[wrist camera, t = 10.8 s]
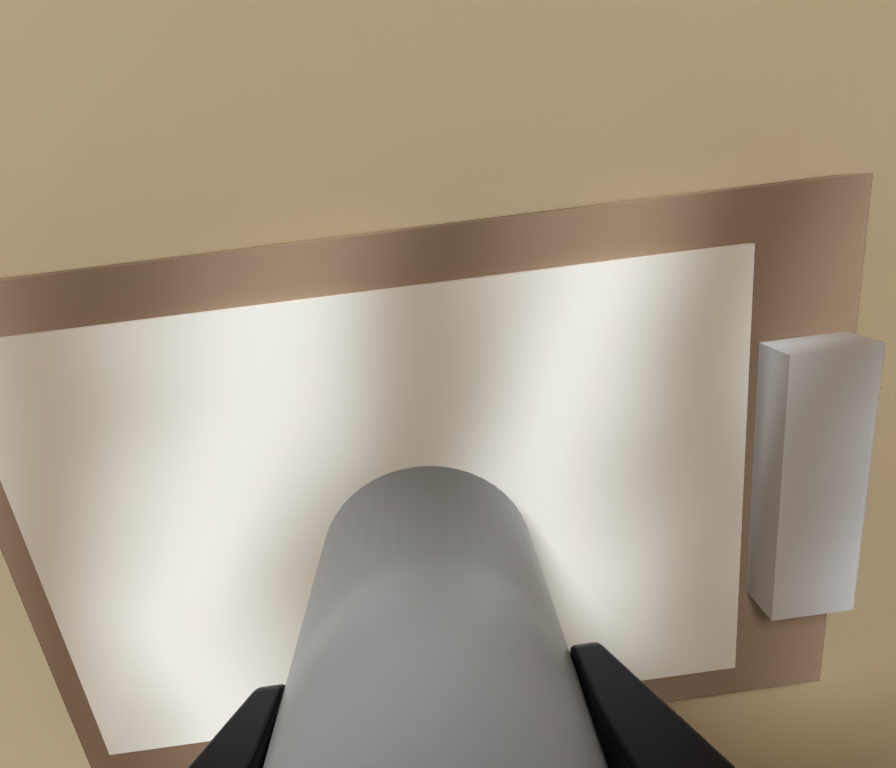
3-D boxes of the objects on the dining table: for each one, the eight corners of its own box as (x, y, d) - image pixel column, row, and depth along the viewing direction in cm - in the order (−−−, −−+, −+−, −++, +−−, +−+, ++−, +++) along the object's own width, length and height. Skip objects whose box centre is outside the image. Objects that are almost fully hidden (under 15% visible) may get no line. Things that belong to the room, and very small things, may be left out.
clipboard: (835, 175, 12) (917, 170, 10) (795, 651, 15) (848, 714, 13) (-62, 286, 11) (-158, 303, 9) (117, 745, 15) (73, 824, 13)
